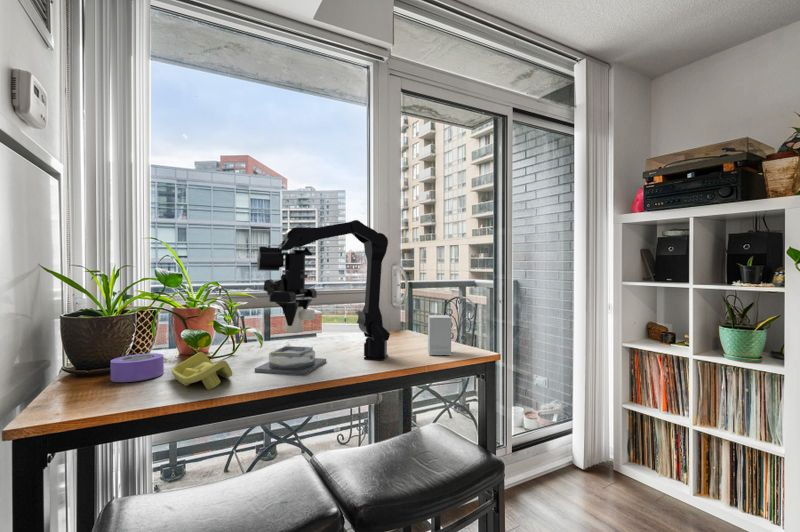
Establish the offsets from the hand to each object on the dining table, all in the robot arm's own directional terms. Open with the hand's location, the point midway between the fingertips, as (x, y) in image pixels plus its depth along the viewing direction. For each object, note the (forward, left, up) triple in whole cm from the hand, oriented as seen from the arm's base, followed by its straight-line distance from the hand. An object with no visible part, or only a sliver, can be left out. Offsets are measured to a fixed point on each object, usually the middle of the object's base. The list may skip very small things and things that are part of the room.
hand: (294, 324), depth 118 cm
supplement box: (-40, -27, -13) cm, 49 cm away
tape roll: (+35, +19, -13) cm, 42 cm away
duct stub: (0, 0, -12) cm, 12 cm away
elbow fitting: (-2, 0, -2) cm, 3 cm away
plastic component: (+15, +20, -13) cm, 28 cm away
